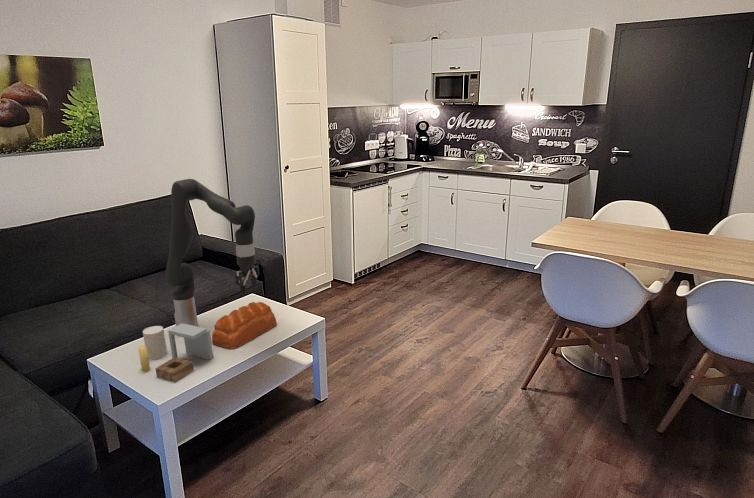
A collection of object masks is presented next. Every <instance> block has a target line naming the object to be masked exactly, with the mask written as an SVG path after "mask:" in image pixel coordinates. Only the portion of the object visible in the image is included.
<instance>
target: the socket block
mask: <svg viewBox="0 0 754 498" xmlns="http://www.w3.org/2000/svg"><path fill="white" fill-rule="evenodd" d="M194 371H195V367H194V362H193V361H192V360H188V359H184V358H181V357H178V358H177V357H174V358H171V359H169V360H168V361H165V362H164V363H162V364H159V366H157V367H155V375H156V378H159V379H161V380H165V381H168V382H171V383H172V382H173V383H176V382H178V381H180V380H182V379H183V378H185V377H186V376H187V375H189V374H191V373H193V372H194Z"/></svg>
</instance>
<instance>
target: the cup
mask: <svg viewBox="0 0 754 498" xmlns="http://www.w3.org/2000/svg"><path fill="white" fill-rule="evenodd" d="M142 337H143V341H144V346H146V348H147V354H148V360H149V361H150V360H151V361H157V360H160V359H162V358H165V357H166V356H167V355H168V351H167V343H166V342H167V341H166V338H165V331H164V327H163V326H162V325H154V326H149V327H145V328H144V329H143V330H142Z"/></svg>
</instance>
